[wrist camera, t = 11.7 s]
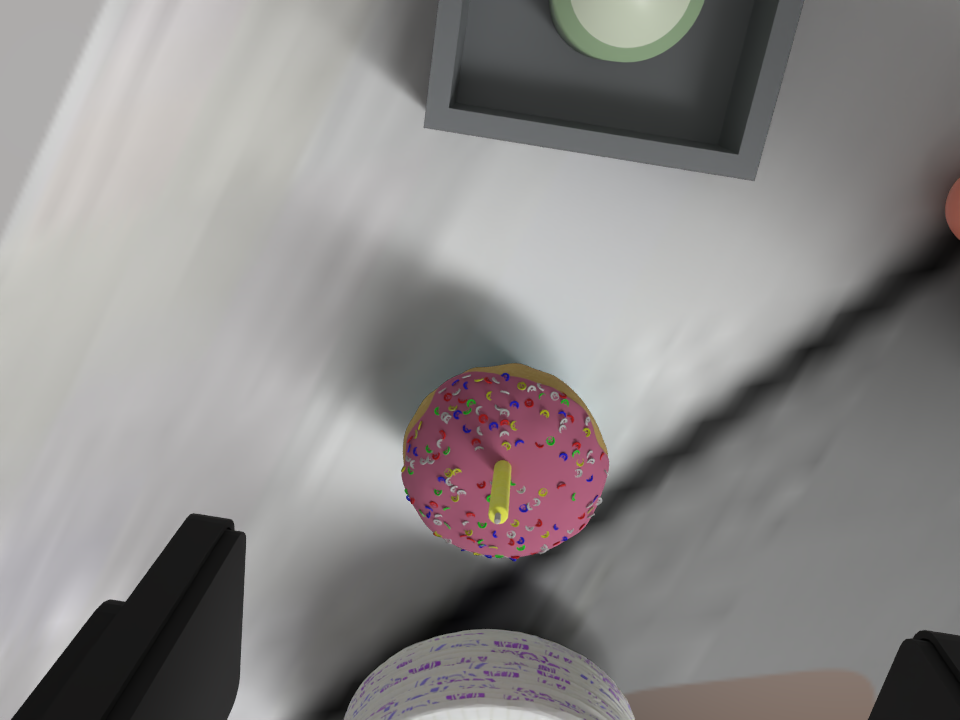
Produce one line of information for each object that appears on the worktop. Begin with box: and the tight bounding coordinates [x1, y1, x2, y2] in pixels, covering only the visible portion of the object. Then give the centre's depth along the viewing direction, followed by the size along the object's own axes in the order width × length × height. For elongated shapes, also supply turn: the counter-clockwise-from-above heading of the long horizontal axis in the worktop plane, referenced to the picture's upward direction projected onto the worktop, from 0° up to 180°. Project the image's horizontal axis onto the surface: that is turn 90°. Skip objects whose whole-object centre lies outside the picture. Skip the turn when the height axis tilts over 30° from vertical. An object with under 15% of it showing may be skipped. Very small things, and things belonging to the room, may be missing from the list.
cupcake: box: [401, 363, 609, 561], centre depth 31 cm, size 9×8×12 cm
